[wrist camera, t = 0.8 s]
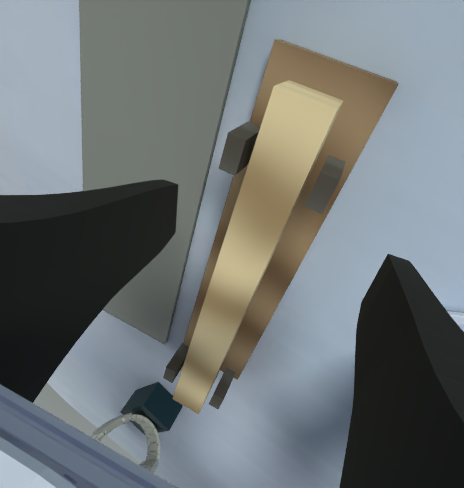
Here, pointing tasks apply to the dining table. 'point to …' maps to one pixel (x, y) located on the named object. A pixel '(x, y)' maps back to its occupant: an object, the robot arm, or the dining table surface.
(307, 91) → the rail
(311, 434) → the dining table surface
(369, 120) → the rack
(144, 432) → the watch
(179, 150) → the mat
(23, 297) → the robot arm
